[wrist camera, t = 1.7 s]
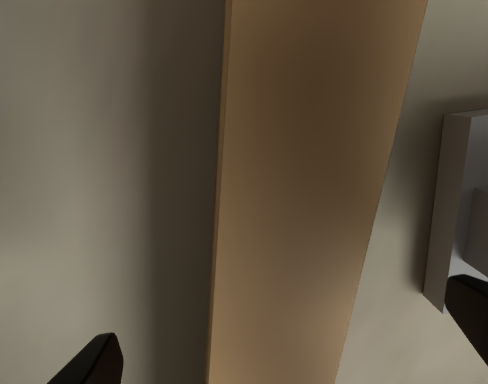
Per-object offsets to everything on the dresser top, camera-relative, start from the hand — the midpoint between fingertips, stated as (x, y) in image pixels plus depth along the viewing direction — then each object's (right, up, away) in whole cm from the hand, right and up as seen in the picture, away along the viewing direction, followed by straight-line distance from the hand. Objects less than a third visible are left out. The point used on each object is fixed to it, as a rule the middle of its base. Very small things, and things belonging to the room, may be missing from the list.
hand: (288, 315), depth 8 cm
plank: (0, +2, +4) cm, 4 cm away
